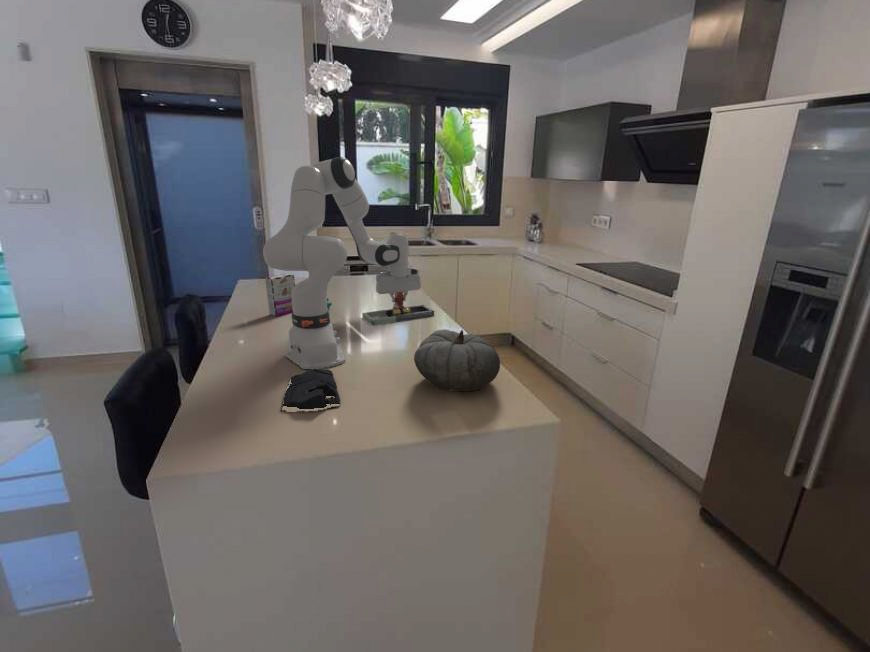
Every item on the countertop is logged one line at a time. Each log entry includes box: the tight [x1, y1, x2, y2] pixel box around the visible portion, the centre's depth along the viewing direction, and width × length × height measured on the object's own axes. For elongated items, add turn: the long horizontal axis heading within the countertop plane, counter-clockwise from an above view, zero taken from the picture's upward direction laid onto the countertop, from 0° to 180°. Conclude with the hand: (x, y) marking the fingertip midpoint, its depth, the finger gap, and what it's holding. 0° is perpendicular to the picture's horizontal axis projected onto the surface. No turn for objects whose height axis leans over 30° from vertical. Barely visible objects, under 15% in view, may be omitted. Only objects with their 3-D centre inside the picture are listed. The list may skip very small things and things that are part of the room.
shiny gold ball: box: [393, 308, 401, 316], centre depth 188 cm, size 4×4×4 cm
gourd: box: [413, 328, 501, 392], centre depth 132 cm, size 25×25×17 cm
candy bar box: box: [264, 272, 296, 317], centre depth 192 cm, size 11×5×16 cm, turn 143°
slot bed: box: [385, 304, 435, 322], centre depth 191 cm, size 10×18×3 cm, turn 119°
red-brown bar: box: [393, 292, 405, 309], centre depth 199 cm, size 6×3×10 cm, turn 29°
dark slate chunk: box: [282, 368, 341, 409], centre depth 126 cm, size 15×22×5 cm
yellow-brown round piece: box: [402, 306, 411, 314], centre depth 190 cm, size 4×4×4 cm
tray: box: [362, 309, 397, 326], centre depth 185 cm, size 11×10×3 cm
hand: (398, 301), depth 199 cm, fingers open, 3 cm apart
